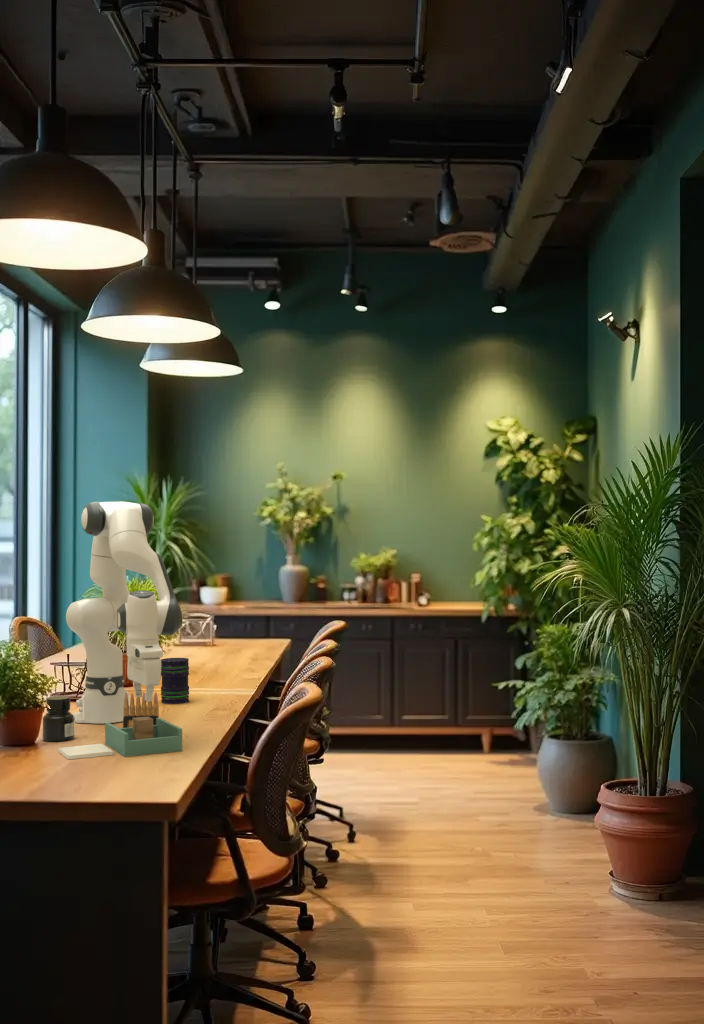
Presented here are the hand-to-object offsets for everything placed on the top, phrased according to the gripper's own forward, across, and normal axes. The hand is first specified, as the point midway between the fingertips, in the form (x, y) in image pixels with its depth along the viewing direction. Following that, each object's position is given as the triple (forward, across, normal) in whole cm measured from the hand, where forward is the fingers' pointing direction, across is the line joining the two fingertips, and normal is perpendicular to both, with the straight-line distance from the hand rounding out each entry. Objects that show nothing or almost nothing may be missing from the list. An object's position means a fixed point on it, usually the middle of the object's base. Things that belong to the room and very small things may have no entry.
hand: (143, 699), depth 304 cm
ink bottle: (+13, -24, -18) cm, 33 cm away
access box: (+13, 0, 0) cm, 13 cm away
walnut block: (+13, 0, 0) cm, 13 cm away
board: (+13, 0, -16) cm, 21 cm away
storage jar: (+13, -72, +33) cm, 81 cm away
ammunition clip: (+13, -22, +6) cm, 27 cm away
